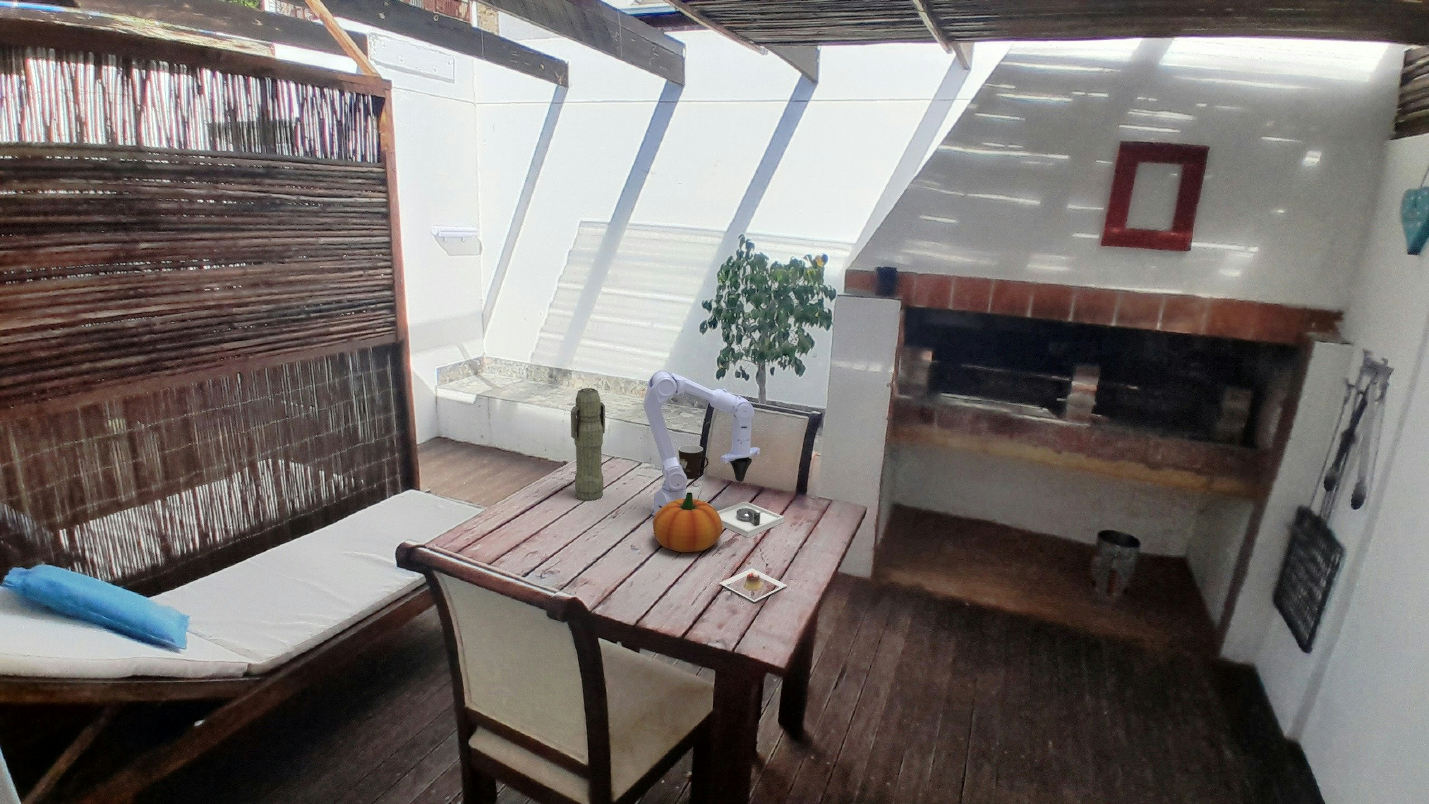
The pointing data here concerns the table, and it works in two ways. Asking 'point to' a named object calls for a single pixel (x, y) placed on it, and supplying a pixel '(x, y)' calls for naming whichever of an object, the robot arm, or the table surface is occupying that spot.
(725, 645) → the table surface
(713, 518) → the pumpkin
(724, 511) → the board
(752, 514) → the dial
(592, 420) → the green carved statue
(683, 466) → the coffee mug
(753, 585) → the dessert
